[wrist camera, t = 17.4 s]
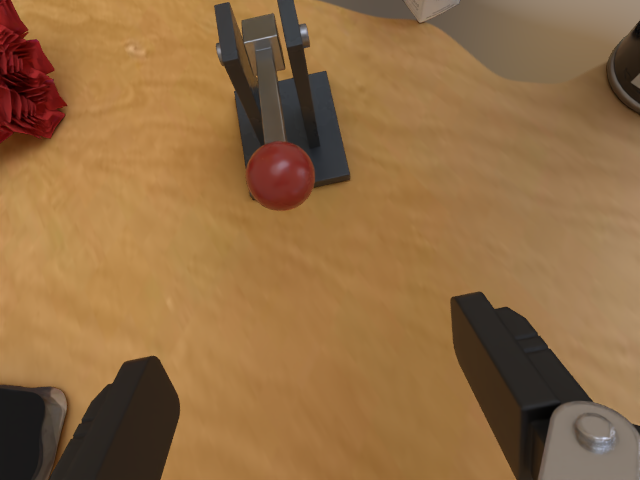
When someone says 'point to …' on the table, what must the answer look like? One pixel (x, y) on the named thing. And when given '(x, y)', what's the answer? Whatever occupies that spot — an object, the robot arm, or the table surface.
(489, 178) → the table surface
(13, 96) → the bouquet
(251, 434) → the table surface
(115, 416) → the robot arm
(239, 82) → the bracket
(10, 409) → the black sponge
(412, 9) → the ink box
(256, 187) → the lever
